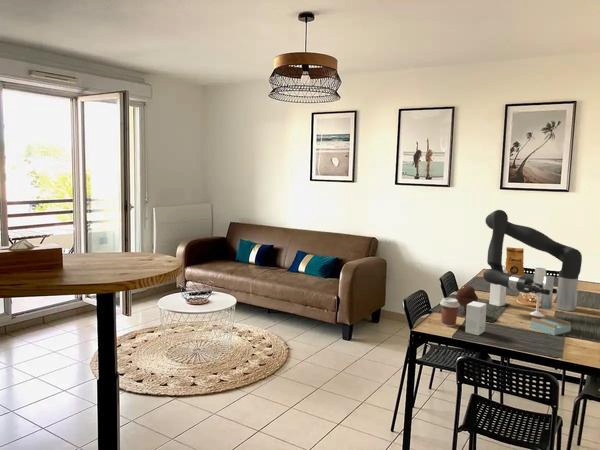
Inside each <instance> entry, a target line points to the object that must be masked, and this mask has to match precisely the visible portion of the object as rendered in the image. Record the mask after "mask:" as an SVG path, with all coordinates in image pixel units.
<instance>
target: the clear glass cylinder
mask: <svg viewBox="0 0 600 450" xmlns="http://www.w3.org/2000/svg"><path fill="white" fill-rule="evenodd" d="M554 283H555V276H552V275H547V274H546V275H544V276H543V285H542V289H547V290H550V295H546V294H542V295H541V296H540V297H541V300H540V309H544V310H551V309H552V304H553V296H554V293H553V288H554Z"/></svg>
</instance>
